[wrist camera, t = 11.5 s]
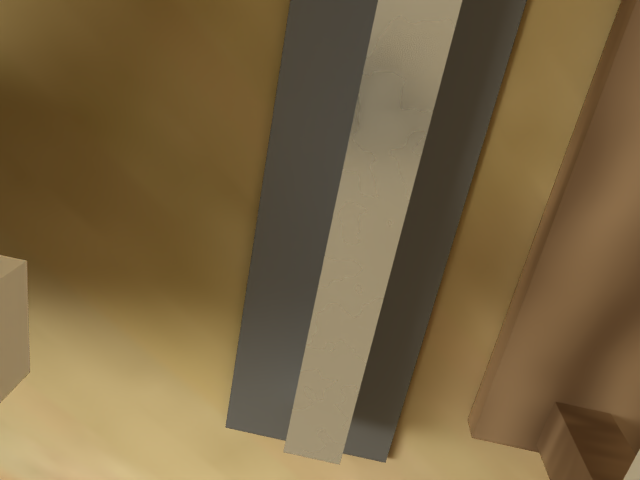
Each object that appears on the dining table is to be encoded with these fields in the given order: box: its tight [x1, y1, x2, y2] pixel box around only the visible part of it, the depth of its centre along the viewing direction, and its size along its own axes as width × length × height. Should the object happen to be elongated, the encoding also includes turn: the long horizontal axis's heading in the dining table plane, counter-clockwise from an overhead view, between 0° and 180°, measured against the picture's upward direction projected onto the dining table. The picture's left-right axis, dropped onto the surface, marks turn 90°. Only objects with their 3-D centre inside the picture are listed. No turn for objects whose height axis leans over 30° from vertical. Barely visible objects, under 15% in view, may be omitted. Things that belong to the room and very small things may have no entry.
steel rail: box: [284, 0, 462, 465], centre depth 25 cm, size 3×28×4 cm, turn 169°
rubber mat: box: [226, 0, 527, 463], centre depth 27 cm, size 10×34×1 cm, turn 169°
